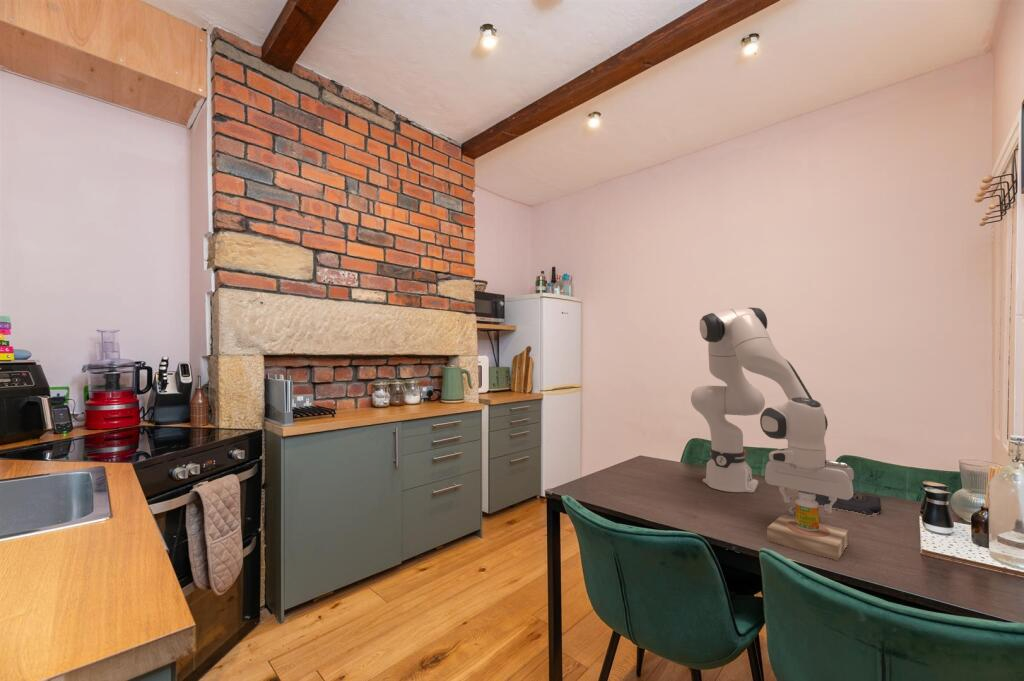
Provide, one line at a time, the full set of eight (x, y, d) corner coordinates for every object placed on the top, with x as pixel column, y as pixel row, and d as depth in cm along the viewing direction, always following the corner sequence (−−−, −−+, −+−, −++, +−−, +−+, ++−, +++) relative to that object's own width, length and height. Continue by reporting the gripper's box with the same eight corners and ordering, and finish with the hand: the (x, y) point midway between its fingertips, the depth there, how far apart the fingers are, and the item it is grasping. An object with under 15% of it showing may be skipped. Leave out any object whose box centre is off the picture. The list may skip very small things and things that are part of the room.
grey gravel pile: (816, 528, 131) (816, 514, 131) (787, 521, 136) (787, 508, 136) (822, 517, 139) (822, 505, 139) (794, 511, 144) (794, 499, 144)
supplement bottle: (797, 529, 119) (797, 494, 119) (794, 522, 124) (793, 488, 124) (821, 533, 117) (820, 496, 117) (816, 525, 122) (816, 490, 122)
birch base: (782, 526, 131) (782, 513, 131) (848, 543, 119) (848, 529, 120) (767, 540, 121) (767, 526, 121) (838, 561, 110) (837, 545, 110)
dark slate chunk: (806, 493, 163) (806, 480, 163) (883, 508, 148) (883, 494, 148) (796, 503, 152) (796, 489, 152) (878, 520, 137) (878, 505, 137)
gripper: (855, 462, 116) (856, 514, 115) (769, 449, 130) (770, 495, 130) (851, 466, 111) (852, 521, 111) (762, 452, 126) (763, 501, 126)
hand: (807, 507), depth 121 cm, fingers open, 8 cm apart
